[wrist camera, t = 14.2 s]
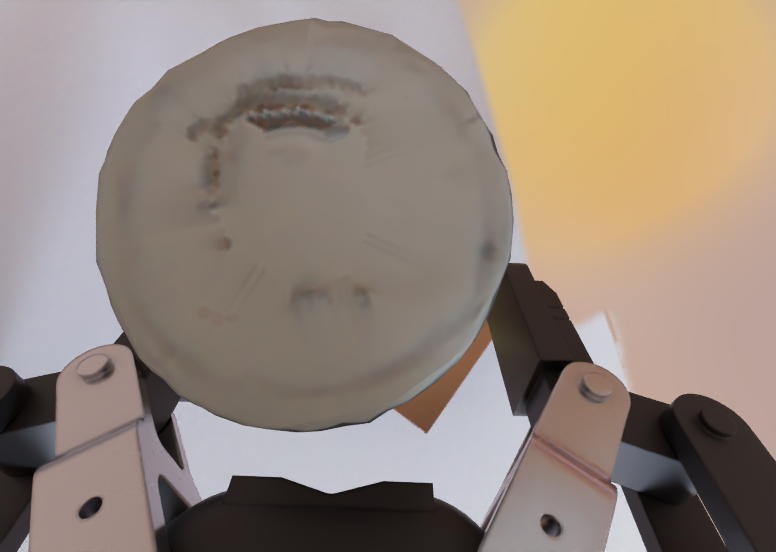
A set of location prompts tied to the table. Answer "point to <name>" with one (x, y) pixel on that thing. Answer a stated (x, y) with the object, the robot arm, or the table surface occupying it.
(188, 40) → the table surface
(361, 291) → the sauce bottle
